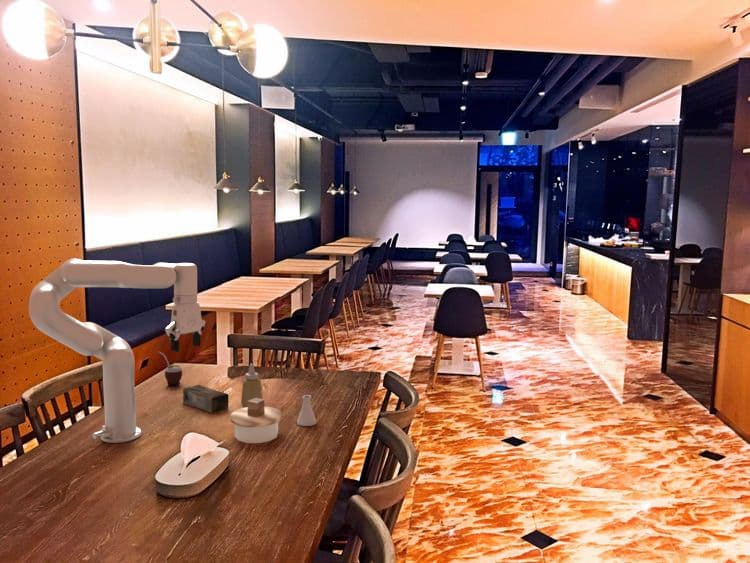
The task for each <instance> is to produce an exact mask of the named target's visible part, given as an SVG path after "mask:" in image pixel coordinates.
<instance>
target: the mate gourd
mask: <svg viewBox="0 0 750 563" xmlns="http://www.w3.org/2000/svg"><path fill="white" fill-rule="evenodd" d="M158 353H159V354H160V355H162V356H163V358H164V359H165V362H166V363H167V366H166V369H165V370H164V378H165V380H166V383H167V388H170V386H171V387H177V386H179V387H180V384H181V380H182V376H183V370H182V367H181V366H180V365H177V364H175V365H171V364H170V363H169V361H168V359H167V356H166V355H165V354H164V352H163V353H162V352H161V351H158ZM173 385H174V386H173Z"/></svg>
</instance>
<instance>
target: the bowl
mask: <svg viewBox="0 0 750 563" xmlns="http://www.w3.org/2000/svg"><path fill="white" fill-rule="evenodd" d="M278 435H279V421H278V422H277V423H275V424H272V425H268V426H263V427H242V426H238V425H235V424H234V438H235V439H236V441H238V442H242V443H245V444H261V443H268V442H271V441H272V440H275V439H276V438H278Z"/></svg>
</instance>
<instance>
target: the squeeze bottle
mask: <svg viewBox="0 0 750 563" xmlns="http://www.w3.org/2000/svg"><path fill="white" fill-rule="evenodd" d="M244 375H245V378H244V379H242V386H241V387H242V389H241V398H240V403H241V405H242V408H246V407H247V401H249V400H251V399H253V398H259V399H263V400H264V398H263V391H262V388H263V387H262V380H261V379H260V378H259V373H258V372H257V371H256V370H255V365H254V364H253V363H250V364H249V368H248V372H246V373H245V374H244Z"/></svg>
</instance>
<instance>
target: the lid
mask: <svg viewBox="0 0 750 563" xmlns="http://www.w3.org/2000/svg"><path fill="white" fill-rule="evenodd" d="M229 416H230V417H229V418H230V422H231V423H232V424H233V425H234V426H235V425H238V426H242V427H263V426H268V425H272V424H275V423H277V422H278V423H279V422H280V421H281V419H282V412H281V410H279V408H276V407H272V406H265V399H264V398H263V399H259V398H253V399H251V400H249V401H247V407H246V408H243V407H242V408H238V409H236V410H234V411H233V412H231V413H230V415H229Z"/></svg>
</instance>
